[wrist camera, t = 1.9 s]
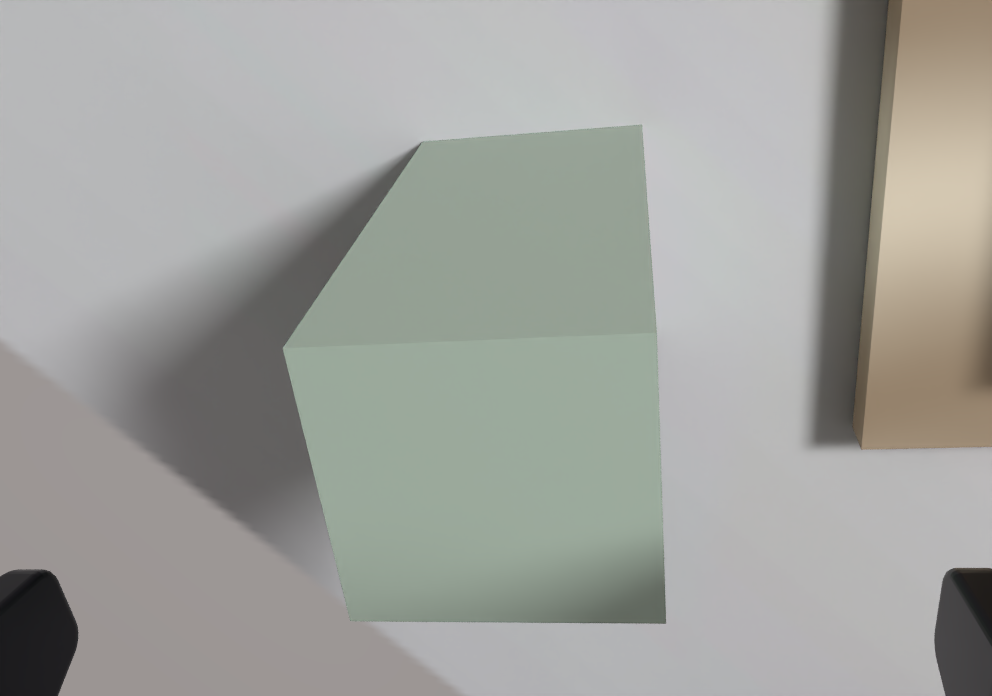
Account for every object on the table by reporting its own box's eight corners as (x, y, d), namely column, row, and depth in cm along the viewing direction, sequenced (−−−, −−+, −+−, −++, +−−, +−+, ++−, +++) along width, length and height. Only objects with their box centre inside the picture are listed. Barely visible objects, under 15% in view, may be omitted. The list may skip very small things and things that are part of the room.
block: (649, 325, 18) (665, 623, 11) (451, 333, 19) (350, 621, 12) (641, 124, 16) (657, 333, 9) (422, 142, 17) (281, 348, 10)
